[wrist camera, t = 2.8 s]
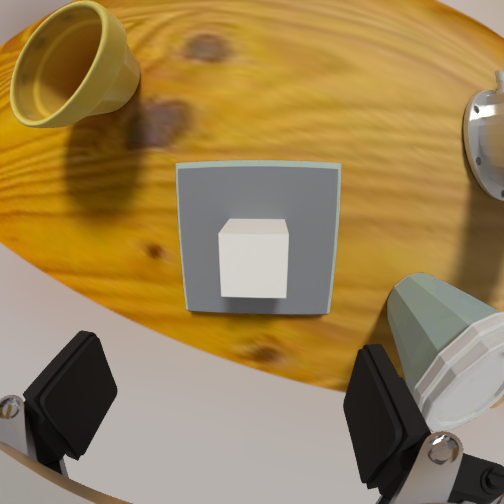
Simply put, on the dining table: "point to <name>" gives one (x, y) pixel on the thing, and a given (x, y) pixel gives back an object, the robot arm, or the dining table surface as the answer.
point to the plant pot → (73, 68)
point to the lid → (258, 238)
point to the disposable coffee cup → (447, 349)
